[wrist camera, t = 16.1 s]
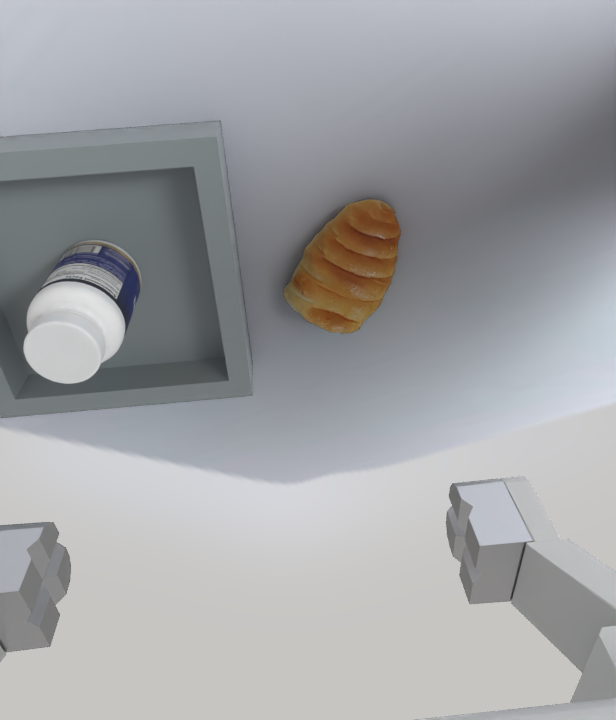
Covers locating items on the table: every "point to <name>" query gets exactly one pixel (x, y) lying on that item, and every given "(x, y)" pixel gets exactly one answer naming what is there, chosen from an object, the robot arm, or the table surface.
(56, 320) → the pill bottle
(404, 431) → the table surface
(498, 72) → the table surface
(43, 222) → the tray
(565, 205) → the table surface
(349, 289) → the pastry
